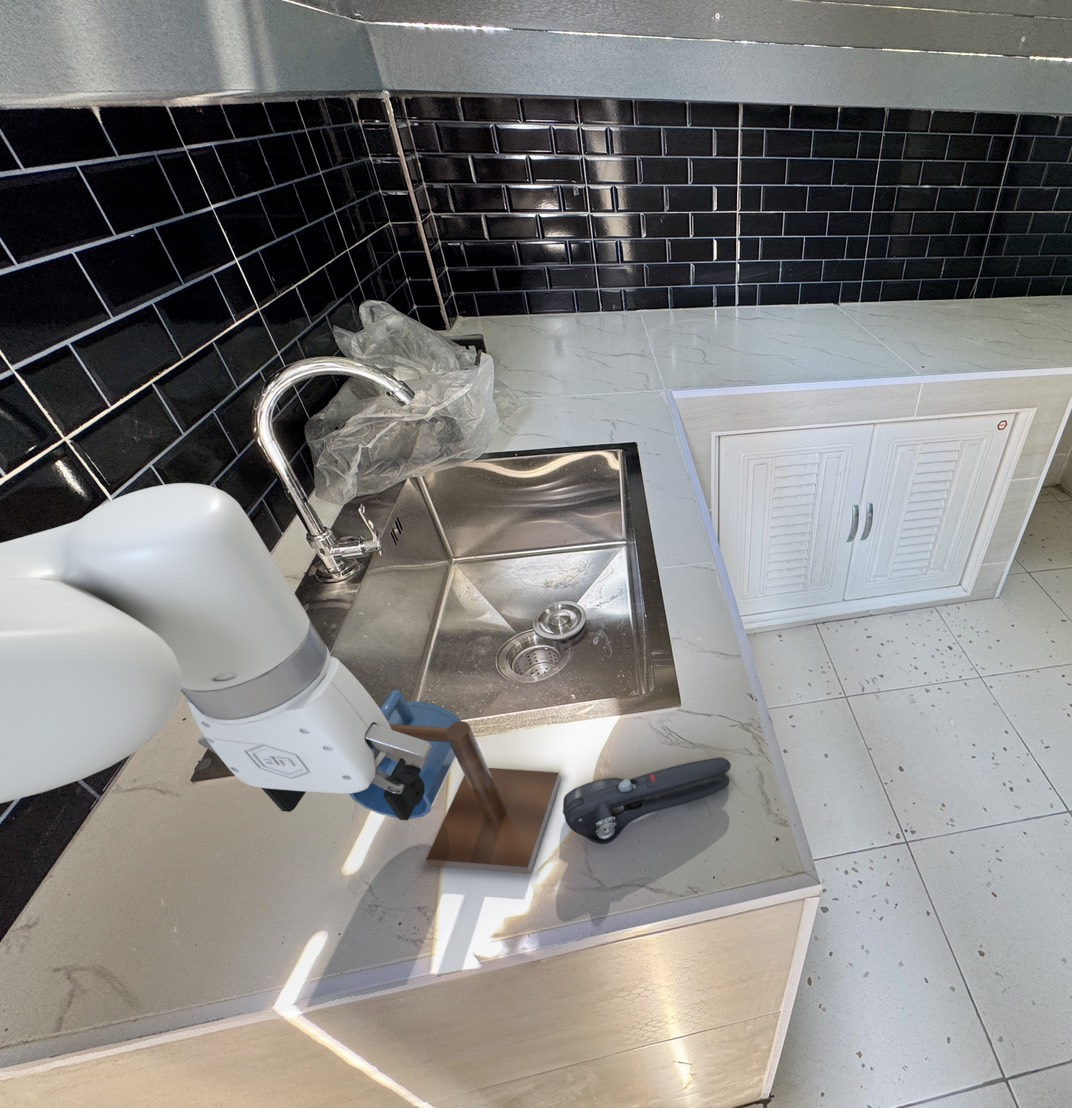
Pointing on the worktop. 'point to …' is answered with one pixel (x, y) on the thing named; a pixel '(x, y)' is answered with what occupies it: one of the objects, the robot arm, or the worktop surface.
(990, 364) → the worktop surface
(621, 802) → the can opener
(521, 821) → the mug stand
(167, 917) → the worktop surface
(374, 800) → the mug
